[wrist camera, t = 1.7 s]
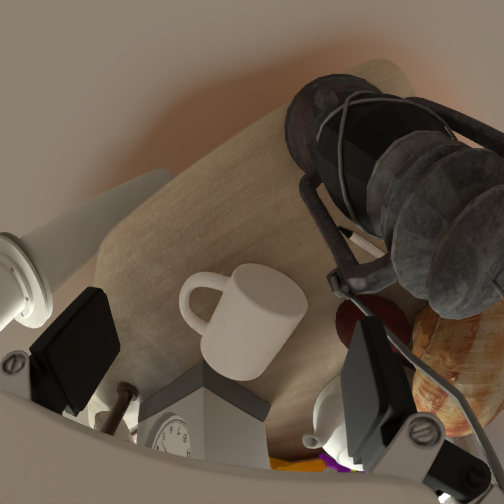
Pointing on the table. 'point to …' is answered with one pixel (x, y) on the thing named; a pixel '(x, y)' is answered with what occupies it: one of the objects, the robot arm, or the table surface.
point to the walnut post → (119, 407)
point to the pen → (361, 242)
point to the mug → (245, 318)
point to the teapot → (335, 423)
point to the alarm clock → (206, 420)
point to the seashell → (460, 365)
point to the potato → (380, 307)
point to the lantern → (405, 202)
